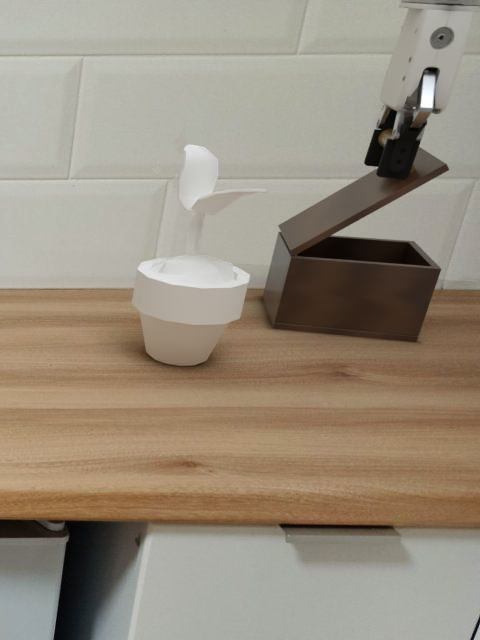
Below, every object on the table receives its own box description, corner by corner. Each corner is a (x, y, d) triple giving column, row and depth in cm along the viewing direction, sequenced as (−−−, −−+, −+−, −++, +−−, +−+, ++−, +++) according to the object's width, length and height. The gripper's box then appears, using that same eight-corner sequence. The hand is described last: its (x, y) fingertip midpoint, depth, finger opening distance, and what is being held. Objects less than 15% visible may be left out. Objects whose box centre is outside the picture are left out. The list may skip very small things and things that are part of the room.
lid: (420, 150, 106) (400, 113, 104) (449, 170, 95) (428, 128, 94) (280, 230, 114) (261, 196, 113) (293, 256, 103) (272, 218, 102)
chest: (392, 309, 114) (414, 241, 110) (416, 342, 104) (441, 268, 100) (262, 297, 118) (278, 231, 114) (272, 329, 108) (291, 257, 104)
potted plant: (101, 345, 103) (137, 114, 90) (184, 334, 106) (230, 109, 94) (172, 387, 93) (224, 132, 80) (261, 372, 96) (324, 126, 84)
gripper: (511, -2, 85) (440, 190, 94) (460, -6, 99) (403, 161, 109) (425, -6, 87) (363, 183, 96) (386, -10, 101) (336, 156, 110)
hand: (385, 170), depth 102 cm, fingers closed on lid, 6 cm apart
